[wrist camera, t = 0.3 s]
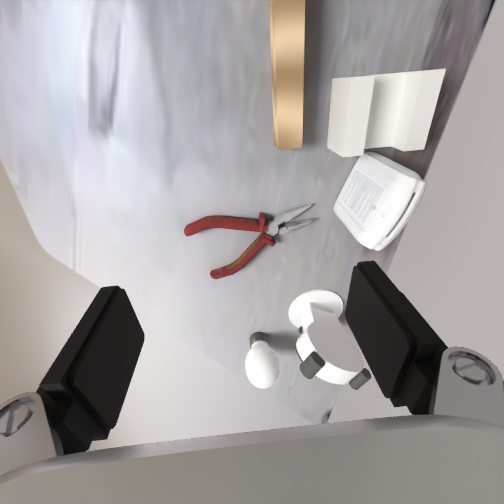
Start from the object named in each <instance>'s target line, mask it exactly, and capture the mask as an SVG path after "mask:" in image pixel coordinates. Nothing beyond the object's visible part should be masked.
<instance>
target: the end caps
mask: <svg viewBox="0 0 504 504" xmlns="http://www.w3.org/2000/svg"><path fill="white" fill-rule="evenodd" d="M445 71H446V69H437V70H423V71H410V72H399V73H388V74H377V75H366V76H355V77H344V78H333V79H332V88H331V101H330V114H329V127H328V140H327V148H329V149H330V150H332V151H334V152H335V153H337V154H338V155H340V156H341V157H351V156H361V155H363V152H364V149H369V148H379V147H390V146H391V147H394V148H396V149H399V150H402V151H412V150H423V149H424V148H425V144H426V140H427V137H428V133H429V129H430V126H431V122H432V118H433V115H434V111H435V107H436V104H437V100H438V96H439V93H440V89H441V85H442V82H443V78H444V74H445Z"/></svg>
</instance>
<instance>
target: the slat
mask: <svg viewBox="0 0 504 504" xmlns="http://www.w3.org/2000/svg"><path fill="white" fill-rule="evenodd" d="M269 8H270V36H271V64H272V92H273V120H274V145H275V146H276V148H277V149H278V150H287V149H296V148H302V136H303V86H304V36H305V0H269Z"/></svg>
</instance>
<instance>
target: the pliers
mask: <svg viewBox="0 0 504 504" xmlns="http://www.w3.org/2000/svg"><path fill="white" fill-rule="evenodd" d="M310 206H312V204H310V205H306V206H303V207H300V208H297V209H294V210H290V211H287V212H284V213H282V214H280V215H278V216H276V217H274V220H270V221H266V220H265V216H264V213H260V215H259V220H256V219H246V218H237V217H227V216H208V217H204V218H202V219H199V220H197V221H195V222H193V223H191V224H188V225H187V226H186V227H185V229H184V233H185V235H186V236H191V235H193V234H196V233H198V232H200V231H203V230H206V229H210V228H225V229H235V230H245V231H255V232H262V233H261V235H260V236H259V237H258V238H257V239H256V240H255V241H254V242H253V243H252V244H251V245H250V246H249V247H248V248H247V250H246V251H245V252H244V253H243V254H242V255H241V256H240V257H239V258H238V259H237V260H236V261H234V262H233V263H231V264H229V265H227V266H224V267H221V268H218V269H215V270H212V271H211V273H210V275H211V277H212V278H214V279H219V278H222V277H225V276H229V275H232V274H234V273H236V272H238V271H239V270H240V269H242V268H243V267H244V266H245V265H246V264H247V263H248V262H249V261H250V260H251V259H252V258H253V257H254V256H255V255H256V254H257V252H258V251H259V250H260V249H261V248H262V247H263V246H264V245H265V244H266V243H267V244H269V245H270V246H272V247H273V246H274V245H275V244H276V243H275V239H274V238H272V236H274V235H275V234H277V233H278V232H279V234H284V233H287V232H290V231H293V230H295V229H297V228H299V227H302V226H304V225H306V224H308V223H311V222H313V221H315V220H316V219H309V220H301V221H293V222H288V223H285V225H284V226H283V227H279V226H278V225H280V224H282V223H284V222H287V221H289V220H291V219H292V218H294V217H296V216H297V215H298V214H300V213H301V212H303V211H304V210H306V209H307V208H309V207H310Z"/></svg>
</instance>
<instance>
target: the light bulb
mask: <svg viewBox="0 0 504 504" xmlns="http://www.w3.org/2000/svg"><path fill="white" fill-rule="evenodd" d="M250 347H251V350H250V351H249V352H248V354H247V357H246V361H245V369H246V374H247V377H248V378H249V380H250V382H251V383H252V384H253V385H254V386H256V387H257V388H261V389H266V388H269V387H270V386H272V385H273V384H274V383H275V381H276V379H277V377H278V373H279V362H278V358H277V356H276V354H275V352H274V351H273V350H272V349H271V348H270V347H269V345H268V343H267V338H266V335H265V334H264V333H262V332H256V333H253V334H252V335H251V336H250Z"/></svg>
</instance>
